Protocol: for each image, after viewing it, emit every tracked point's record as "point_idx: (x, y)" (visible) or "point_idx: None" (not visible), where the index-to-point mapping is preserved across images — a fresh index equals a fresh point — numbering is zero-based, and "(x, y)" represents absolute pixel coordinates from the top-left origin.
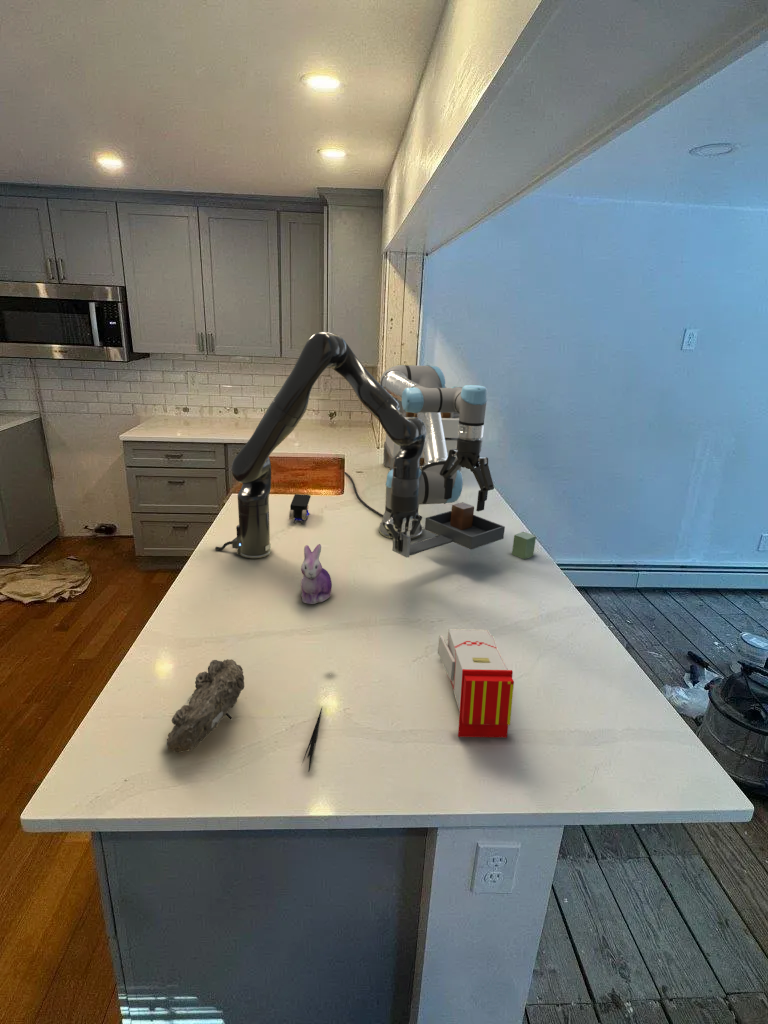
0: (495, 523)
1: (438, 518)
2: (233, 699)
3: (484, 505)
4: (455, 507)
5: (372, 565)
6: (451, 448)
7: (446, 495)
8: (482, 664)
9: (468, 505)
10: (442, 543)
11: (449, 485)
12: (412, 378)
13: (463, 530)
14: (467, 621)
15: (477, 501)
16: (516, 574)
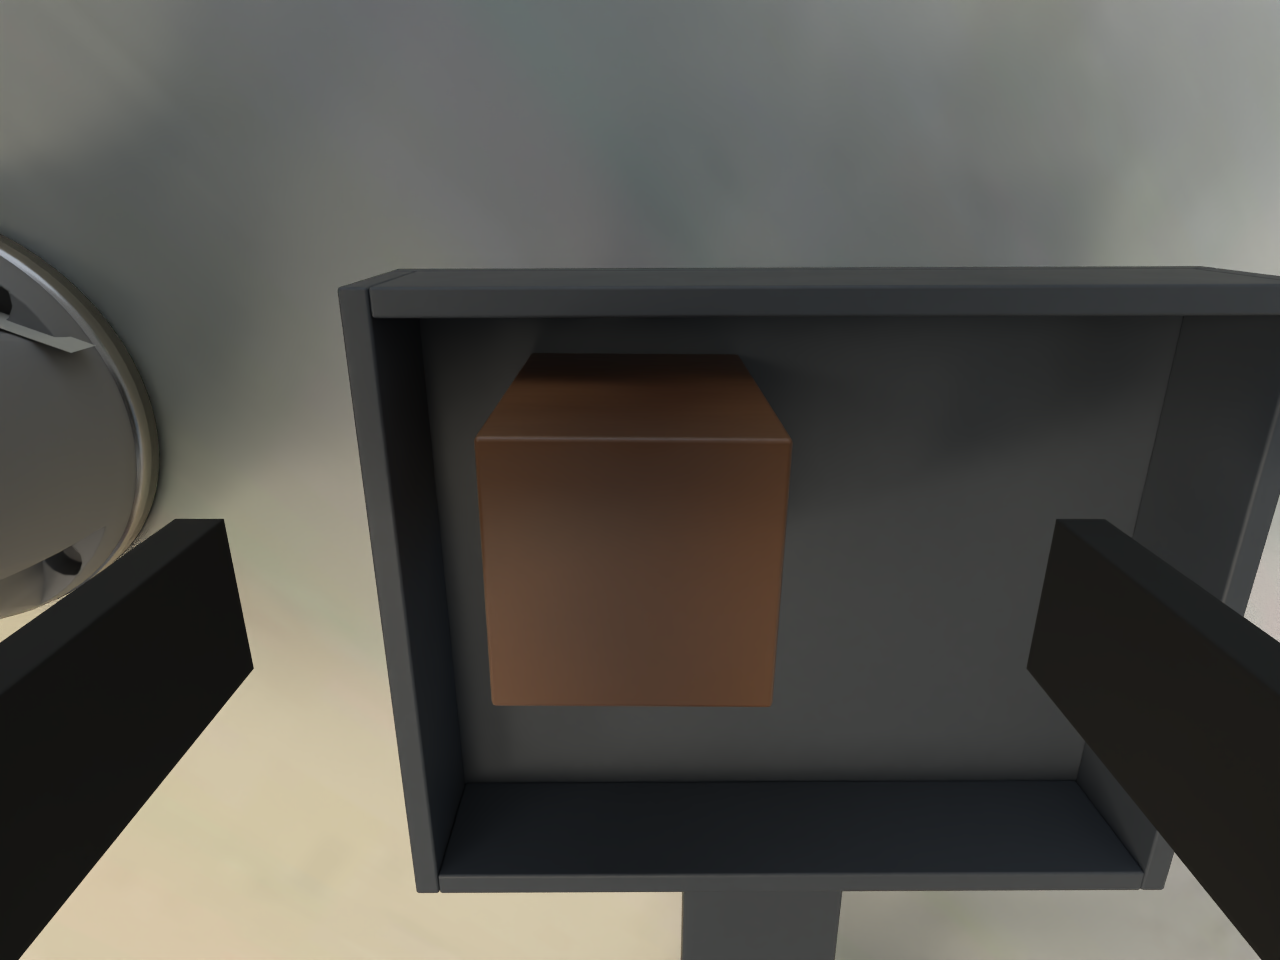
0: (1163, 306)
1: (431, 688)
2: None
3: (1161, 559)
4: (581, 692)
5: (424, 914)
6: None
7: (211, 711)
8: None
9: (682, 490)
10: (839, 910)
11: (37, 813)
12: None
13: None
14: (1225, 935)
15: (1135, 799)
16: (1199, 243)
